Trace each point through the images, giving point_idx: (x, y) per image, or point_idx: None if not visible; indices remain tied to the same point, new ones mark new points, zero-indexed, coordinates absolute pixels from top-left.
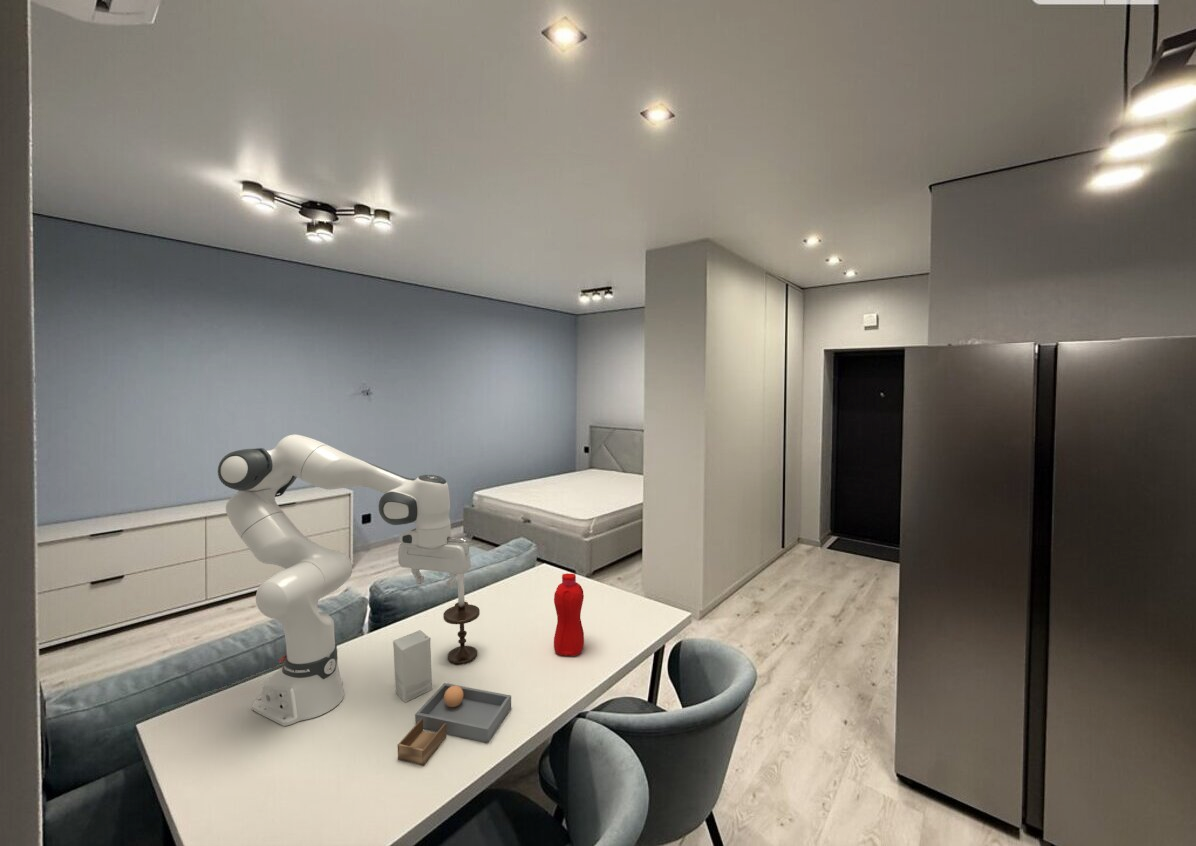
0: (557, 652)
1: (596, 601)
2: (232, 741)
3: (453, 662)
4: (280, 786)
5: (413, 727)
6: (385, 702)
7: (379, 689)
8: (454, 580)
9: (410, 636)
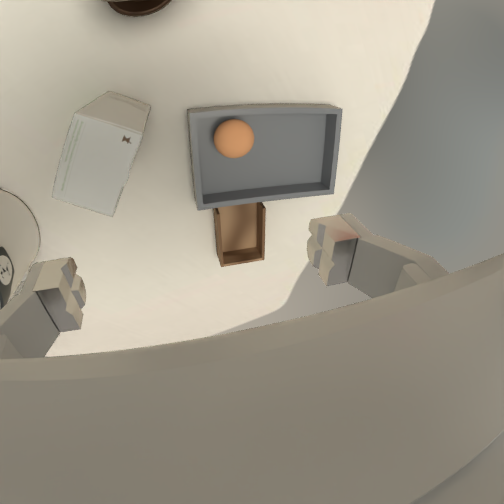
0: None
1: None
2: None
3: (138, 15)
4: (123, 324)
5: (218, 234)
6: None
7: (53, 155)
8: (371, 235)
9: (78, 159)
